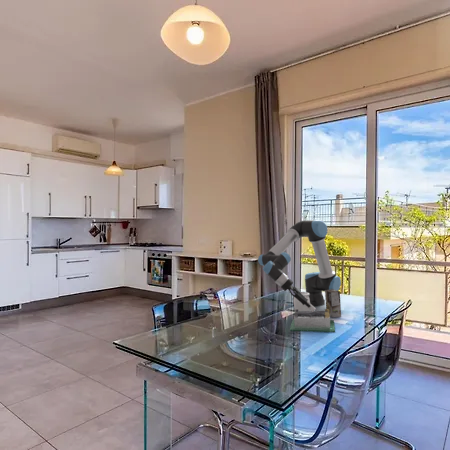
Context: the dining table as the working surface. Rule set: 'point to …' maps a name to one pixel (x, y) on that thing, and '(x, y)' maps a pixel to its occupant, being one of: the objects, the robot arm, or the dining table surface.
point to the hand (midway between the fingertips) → (314, 310)
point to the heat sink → (313, 323)
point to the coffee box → (333, 302)
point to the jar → (299, 305)
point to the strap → (311, 312)
